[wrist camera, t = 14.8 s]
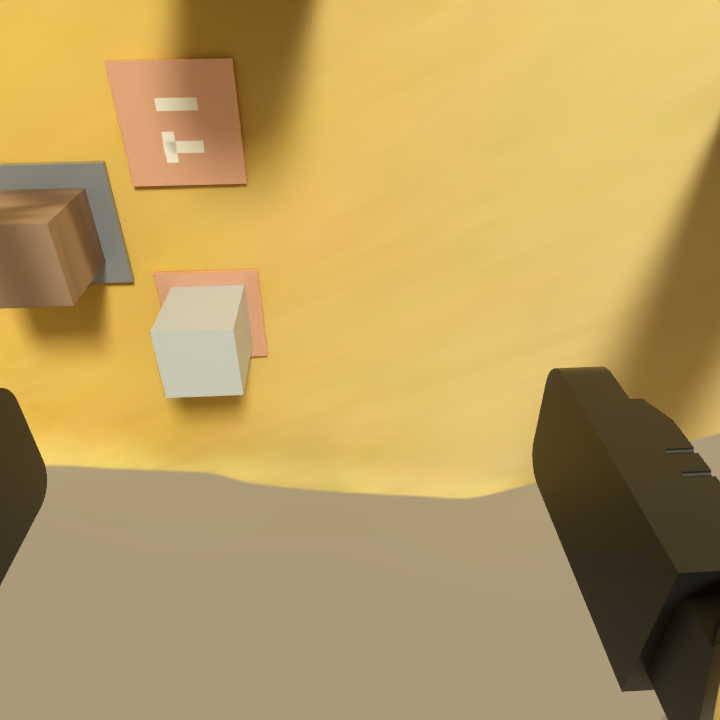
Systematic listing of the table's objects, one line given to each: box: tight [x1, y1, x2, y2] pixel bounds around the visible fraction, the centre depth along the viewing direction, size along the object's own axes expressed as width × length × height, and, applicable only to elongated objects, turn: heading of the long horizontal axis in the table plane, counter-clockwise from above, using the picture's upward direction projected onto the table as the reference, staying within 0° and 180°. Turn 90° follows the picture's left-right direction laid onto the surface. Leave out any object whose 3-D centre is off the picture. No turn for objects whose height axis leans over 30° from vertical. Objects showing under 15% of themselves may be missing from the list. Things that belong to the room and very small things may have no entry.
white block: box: [150, 285, 253, 398], centre depth 39 cm, size 5×5×6 cm
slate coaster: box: [0, 161, 134, 284], centre depth 38 cm, size 8×8×1 cm
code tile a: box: [105, 58, 247, 186], centre depth 35 cm, size 7×7×1 cm
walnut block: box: [0, 188, 106, 308], centre depth 35 cm, size 5×5×6 cm
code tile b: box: [154, 269, 268, 357], centre depth 42 cm, size 7×7×1 cm
